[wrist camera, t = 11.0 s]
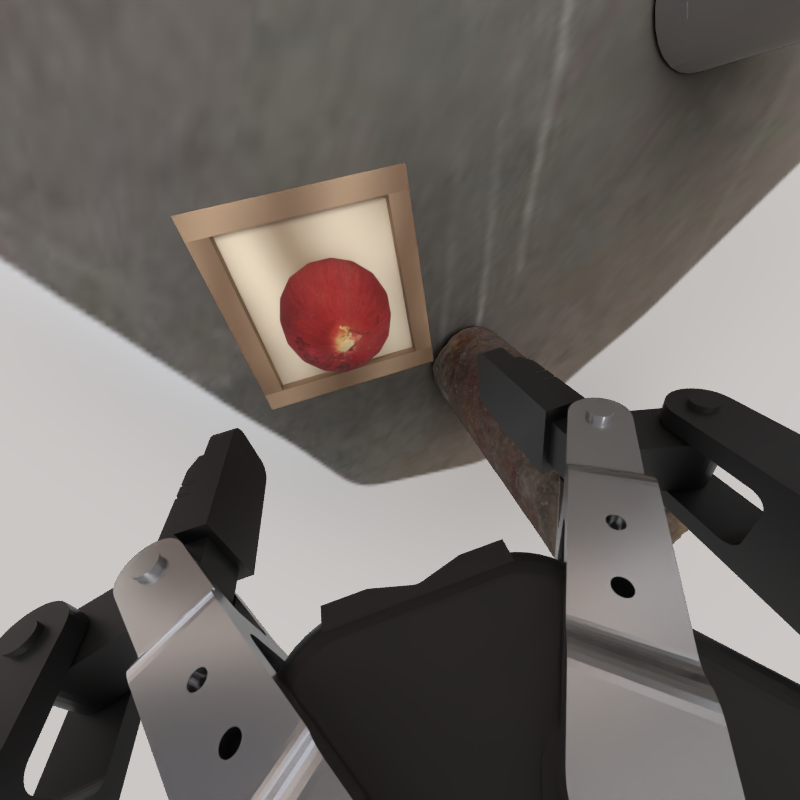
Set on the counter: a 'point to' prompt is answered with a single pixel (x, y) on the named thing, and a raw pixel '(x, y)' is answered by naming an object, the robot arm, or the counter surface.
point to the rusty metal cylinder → (503, 433)
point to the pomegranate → (335, 314)
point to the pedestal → (304, 243)
